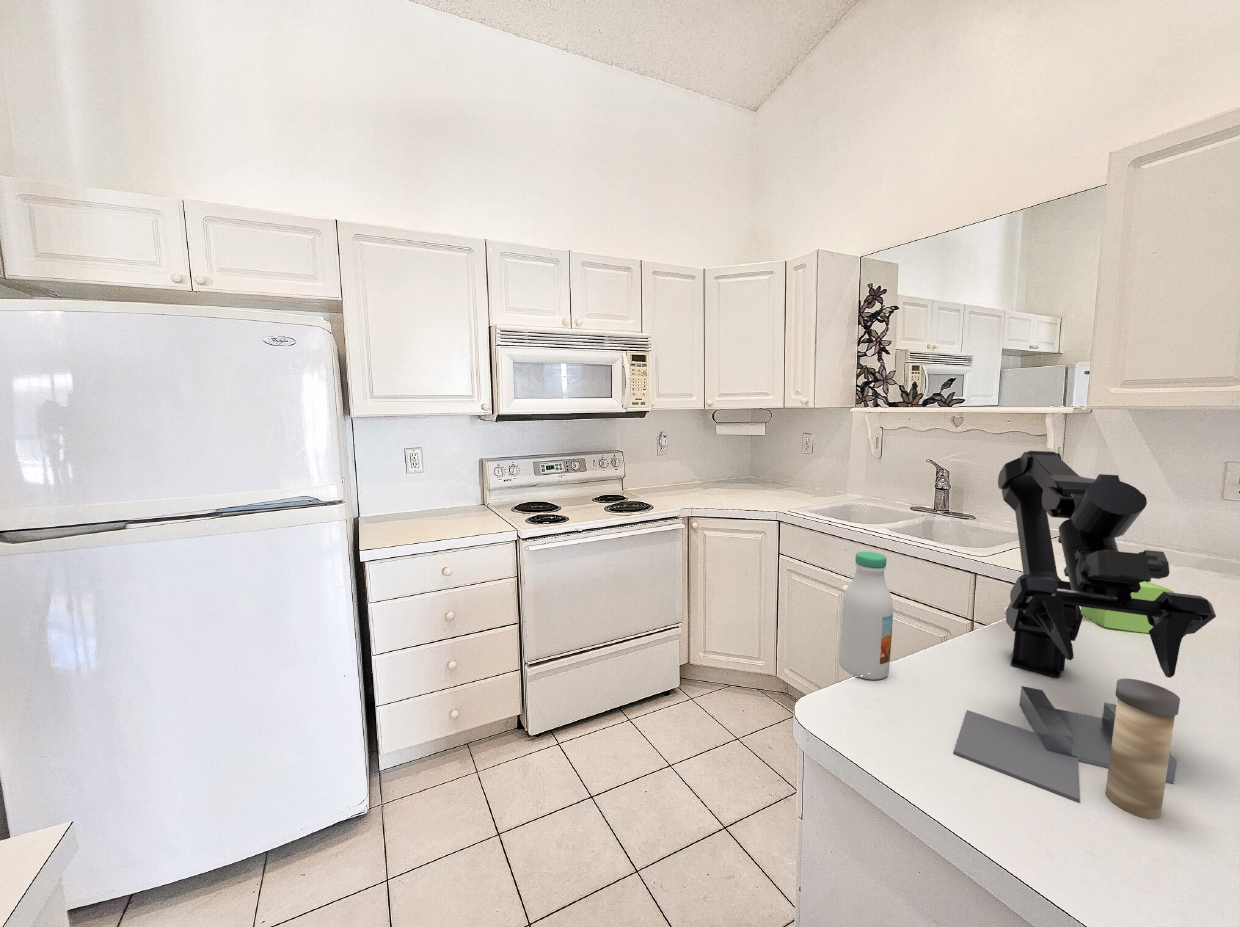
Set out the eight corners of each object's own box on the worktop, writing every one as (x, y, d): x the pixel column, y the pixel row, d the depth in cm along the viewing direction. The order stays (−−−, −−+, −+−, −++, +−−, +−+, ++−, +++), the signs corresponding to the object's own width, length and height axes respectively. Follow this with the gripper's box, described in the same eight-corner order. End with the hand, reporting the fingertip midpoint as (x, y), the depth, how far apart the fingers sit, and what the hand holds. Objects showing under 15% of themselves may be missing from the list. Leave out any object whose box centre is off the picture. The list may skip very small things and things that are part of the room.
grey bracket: (1019, 704, 76) (1021, 685, 75) (1125, 726, 71) (1127, 706, 70) (1046, 753, 65) (1048, 731, 65) (1173, 783, 60) (1176, 760, 60)
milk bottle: (865, 685, 81) (874, 563, 78) (828, 662, 88) (835, 550, 85) (899, 675, 84) (908, 558, 82) (860, 654, 91) (868, 546, 89)
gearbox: (1158, 621, 109) (1164, 578, 108) (1197, 639, 99) (1203, 592, 98) (1059, 610, 113) (1063, 568, 113) (1086, 626, 104) (1091, 581, 103)
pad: (953, 753, 65) (953, 750, 65) (966, 712, 74) (966, 709, 74) (1079, 802, 57) (1079, 799, 57) (1077, 749, 66) (1077, 746, 66)
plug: (1104, 804, 57) (1118, 690, 55) (1101, 780, 60) (1115, 673, 59) (1166, 827, 53) (1183, 708, 52) (1160, 801, 57) (1176, 689, 56)
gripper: (1024, 516, 68) (1043, 625, 60) (1217, 532, 60) (1271, 660, 52) (1003, 558, 76) (1017, 659, 67) (1171, 577, 68) (1212, 694, 60)
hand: (1118, 667), depth 61 cm, fingers open, 9 cm apart
